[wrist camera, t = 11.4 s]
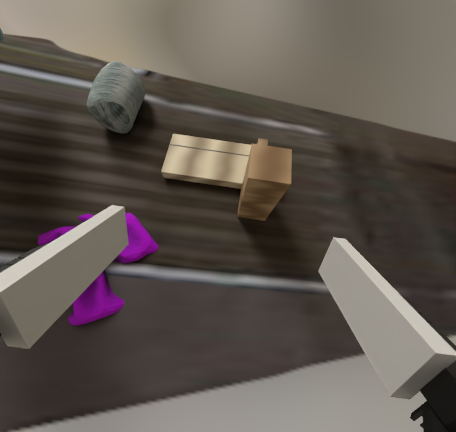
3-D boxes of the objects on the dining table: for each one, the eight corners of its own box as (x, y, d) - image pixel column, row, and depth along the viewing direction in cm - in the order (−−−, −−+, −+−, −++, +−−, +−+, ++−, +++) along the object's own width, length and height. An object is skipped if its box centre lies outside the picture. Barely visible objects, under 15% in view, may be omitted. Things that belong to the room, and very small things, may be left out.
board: (164, 177, 36) (161, 171, 34) (175, 141, 39) (173, 133, 37) (277, 194, 36) (281, 189, 34) (279, 156, 39) (282, 149, 37)
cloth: (169, 221, 33) (158, 208, 27) (125, 340, 27) (100, 355, 21) (51, 193, 34) (17, 175, 28) (-20, 303, 27) (-83, 307, 22)
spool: (136, 134, 35) (88, 72, 28) (104, 144, 39) (56, 93, 32) (166, 101, 43) (134, 47, 36) (137, 113, 47) (103, 66, 40)
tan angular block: (237, 216, 34) (248, 177, 21) (244, 158, 38) (257, 98, 26) (264, 220, 33) (291, 184, 21) (268, 161, 38) (292, 103, 26)
